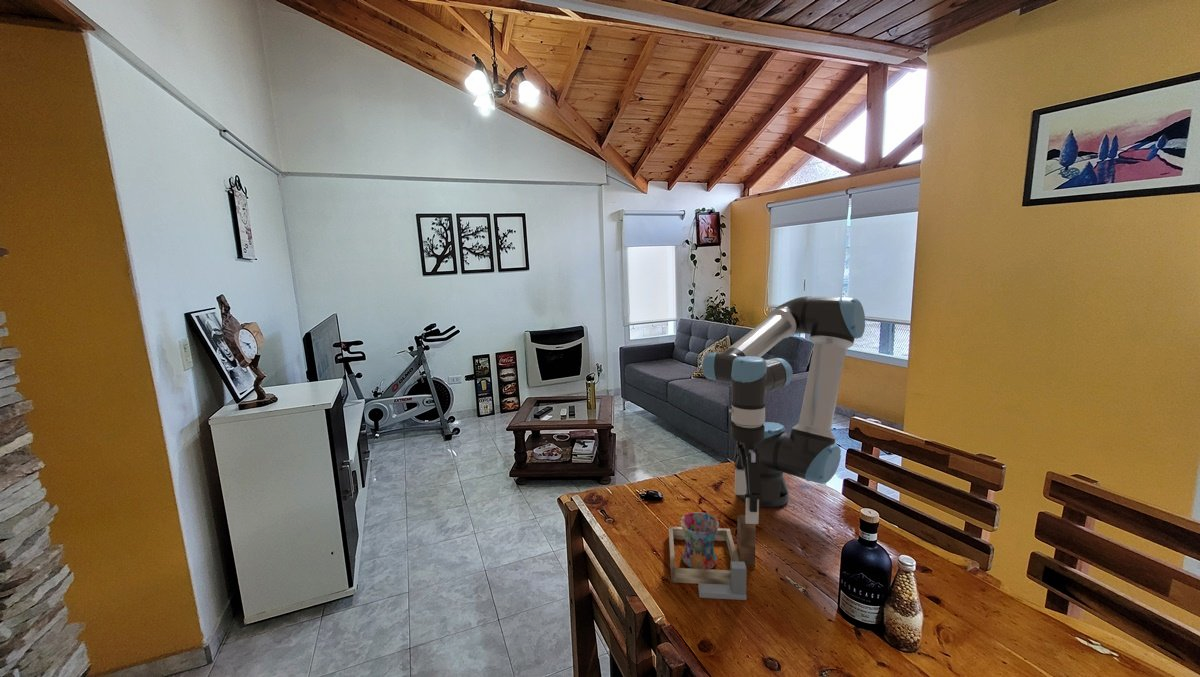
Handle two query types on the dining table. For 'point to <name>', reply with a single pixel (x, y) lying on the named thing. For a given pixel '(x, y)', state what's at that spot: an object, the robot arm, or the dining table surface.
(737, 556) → the open square frame
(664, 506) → the dining table surface
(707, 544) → the mug
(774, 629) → the dining table surface
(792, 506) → the dining table surface
